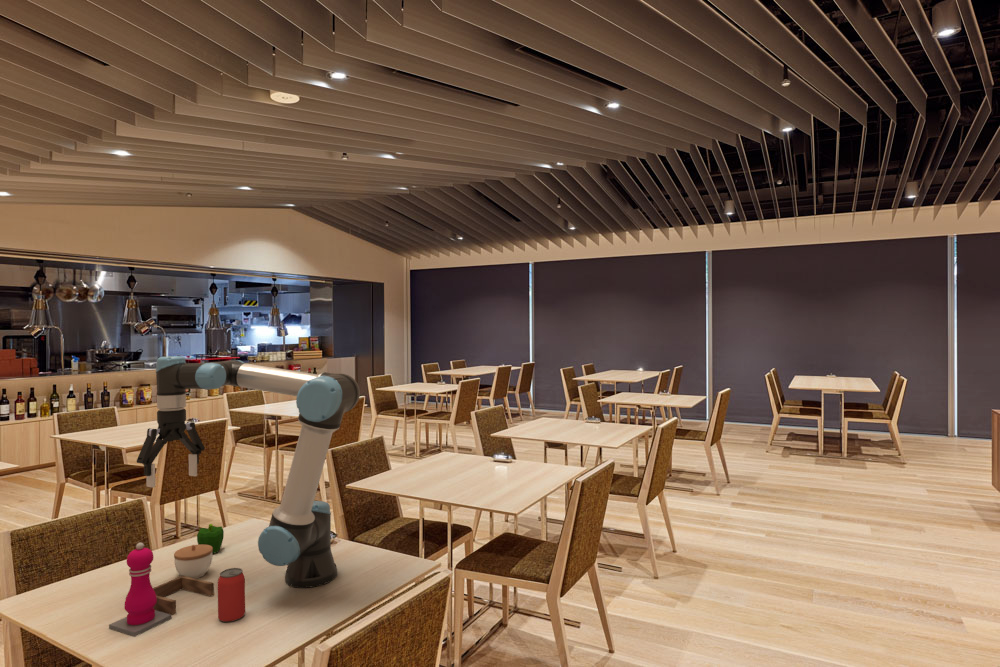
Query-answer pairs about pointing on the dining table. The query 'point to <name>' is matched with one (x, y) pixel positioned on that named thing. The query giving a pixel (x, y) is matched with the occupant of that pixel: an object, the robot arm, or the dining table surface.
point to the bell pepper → (211, 537)
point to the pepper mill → (140, 587)
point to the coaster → (138, 629)
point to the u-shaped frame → (176, 585)
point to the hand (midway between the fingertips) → (172, 481)
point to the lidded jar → (193, 560)
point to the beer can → (231, 595)
